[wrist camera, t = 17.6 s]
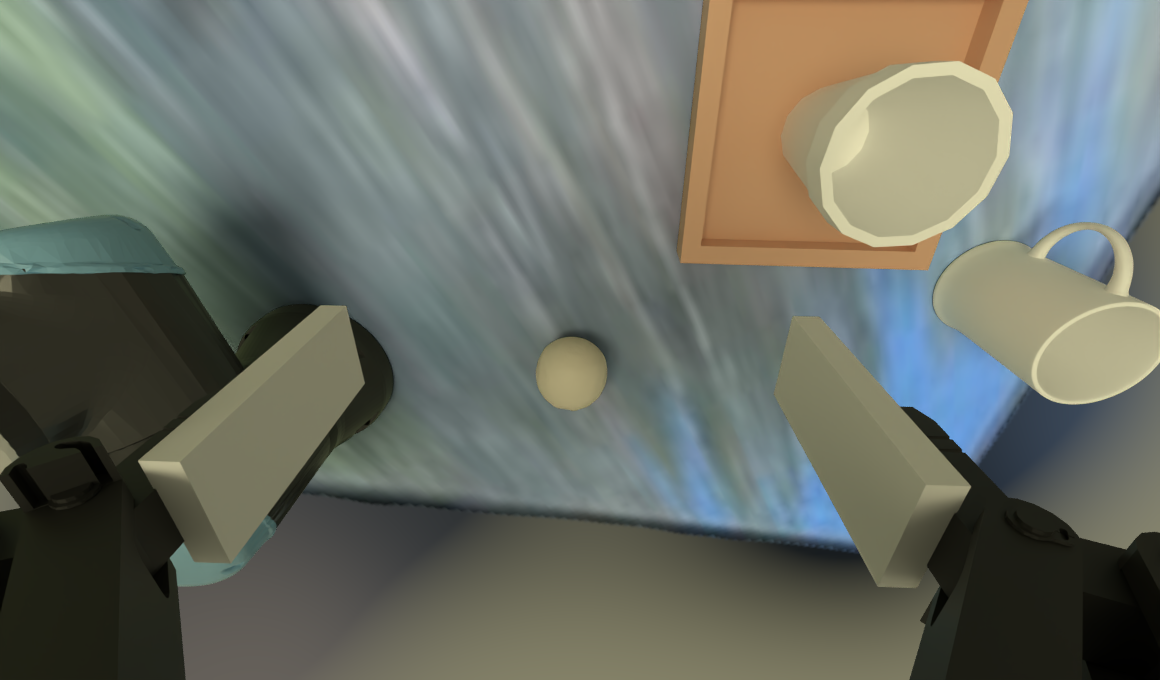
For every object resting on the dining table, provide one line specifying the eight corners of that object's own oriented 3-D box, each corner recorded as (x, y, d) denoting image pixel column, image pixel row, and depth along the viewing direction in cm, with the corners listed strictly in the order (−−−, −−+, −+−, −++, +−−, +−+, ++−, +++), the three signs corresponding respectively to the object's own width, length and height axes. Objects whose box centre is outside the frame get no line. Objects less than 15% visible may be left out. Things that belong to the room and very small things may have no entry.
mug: (988, 192, 40) (1120, 237, 29) (1088, 213, 40) (1255, 265, 30) (913, 319, 46) (1001, 395, 35) (1001, 337, 46) (1114, 417, 35)
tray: (908, 257, 43) (927, 270, 40) (676, 251, 44) (680, 262, 41) (1008, -28, 33) (1041, -36, 30) (706, -27, 34) (713, -35, 31)
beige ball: (536, 380, 52) (526, 420, 46) (545, 319, 48) (535, 355, 42) (600, 391, 52) (597, 433, 46) (613, 332, 48) (613, 368, 42)
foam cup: (871, 33, 34) (996, 19, 23) (904, 155, 38) (1026, 194, 27) (741, 109, 37) (795, 129, 26) (783, 215, 41) (846, 274, 29)
